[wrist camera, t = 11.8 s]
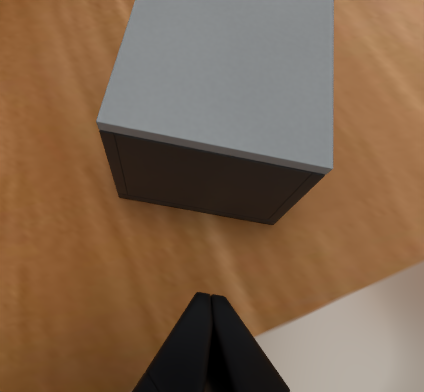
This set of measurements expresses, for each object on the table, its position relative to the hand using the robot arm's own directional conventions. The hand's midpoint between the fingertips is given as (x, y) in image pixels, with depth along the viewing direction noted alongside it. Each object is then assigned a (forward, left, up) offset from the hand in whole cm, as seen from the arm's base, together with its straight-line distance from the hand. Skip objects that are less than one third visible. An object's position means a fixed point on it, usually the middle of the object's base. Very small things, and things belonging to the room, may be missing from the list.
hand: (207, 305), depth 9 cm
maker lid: (+13, -8, -4) cm, 16 cm away
